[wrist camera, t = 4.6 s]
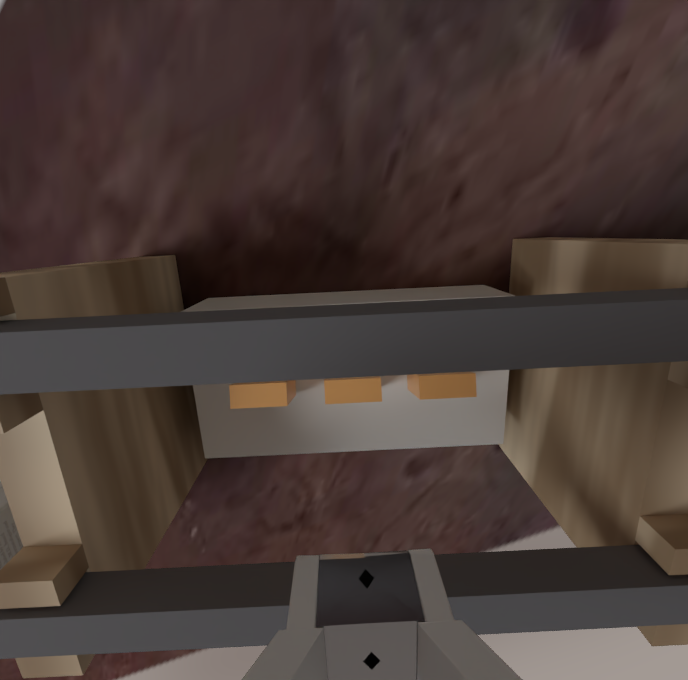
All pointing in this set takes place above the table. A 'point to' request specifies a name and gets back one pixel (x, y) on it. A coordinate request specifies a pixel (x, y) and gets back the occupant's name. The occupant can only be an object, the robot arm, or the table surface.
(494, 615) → the grey bar
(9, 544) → the skincare box
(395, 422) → the breaker strip
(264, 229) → the table surface
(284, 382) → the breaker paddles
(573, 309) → the long charcoal square rod
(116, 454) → the rack
